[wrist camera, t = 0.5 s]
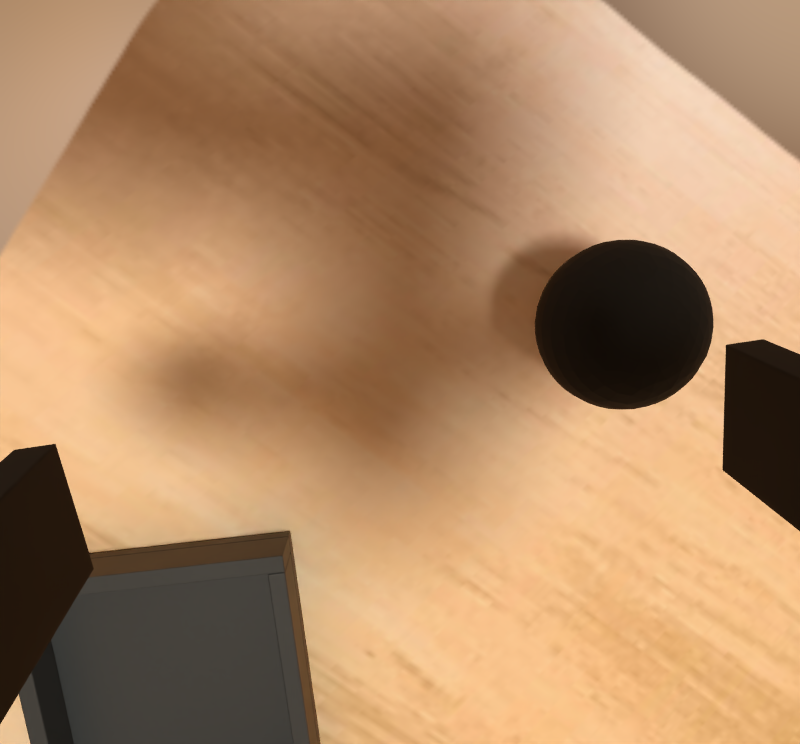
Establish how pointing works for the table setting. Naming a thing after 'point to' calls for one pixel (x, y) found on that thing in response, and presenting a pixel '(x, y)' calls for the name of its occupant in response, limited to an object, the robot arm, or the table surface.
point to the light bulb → (624, 324)
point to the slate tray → (179, 650)
